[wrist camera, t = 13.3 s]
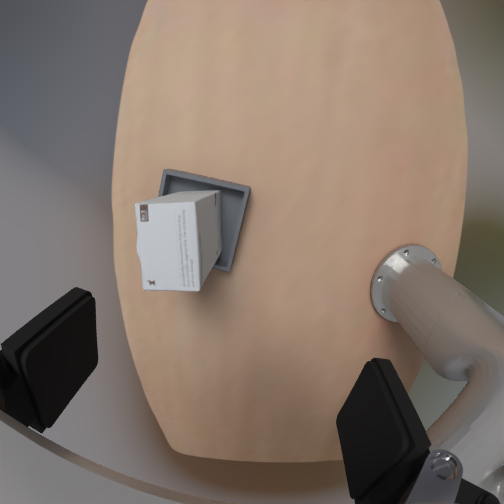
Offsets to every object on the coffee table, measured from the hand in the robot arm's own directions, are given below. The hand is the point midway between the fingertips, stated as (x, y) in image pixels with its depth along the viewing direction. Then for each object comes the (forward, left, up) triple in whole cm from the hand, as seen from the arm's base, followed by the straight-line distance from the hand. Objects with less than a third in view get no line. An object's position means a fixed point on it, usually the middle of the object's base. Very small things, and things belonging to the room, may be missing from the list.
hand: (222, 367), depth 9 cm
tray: (+6, +3, -32) cm, 32 cm away
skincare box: (+6, +3, -31) cm, 32 cm away
